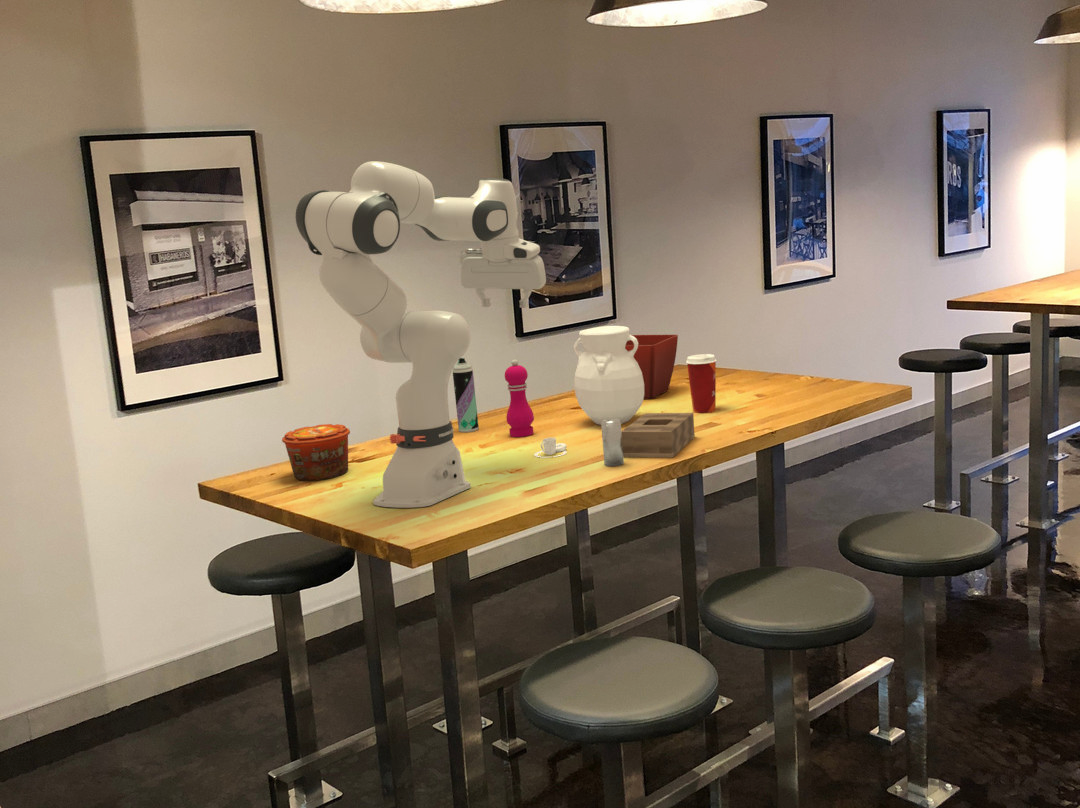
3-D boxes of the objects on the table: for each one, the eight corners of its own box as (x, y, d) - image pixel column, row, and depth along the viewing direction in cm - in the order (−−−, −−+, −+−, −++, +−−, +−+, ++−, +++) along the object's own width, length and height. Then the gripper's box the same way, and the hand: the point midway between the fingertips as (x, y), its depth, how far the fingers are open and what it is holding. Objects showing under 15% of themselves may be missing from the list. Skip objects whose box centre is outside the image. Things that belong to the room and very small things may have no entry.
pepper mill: (532, 437, 273) (525, 361, 269) (505, 438, 275) (497, 362, 271) (537, 430, 280) (531, 356, 276) (511, 432, 282) (504, 358, 278)
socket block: (672, 457, 239) (671, 432, 238) (622, 457, 244) (620, 431, 243) (694, 436, 257) (693, 412, 256) (647, 436, 262) (645, 413, 261)
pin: (620, 466, 236) (616, 423, 234) (601, 466, 237) (598, 423, 236) (626, 461, 240) (623, 418, 238) (608, 461, 241) (604, 418, 240)
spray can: (455, 432, 288) (447, 359, 284) (465, 427, 293) (458, 356, 289) (472, 432, 285) (464, 359, 282) (482, 428, 290) (475, 356, 286)
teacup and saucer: (562, 449, 259) (561, 432, 258) (575, 455, 252) (573, 438, 251) (529, 455, 256) (527, 438, 255) (541, 461, 249) (539, 444, 248)
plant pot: (657, 402, 304) (653, 344, 301) (598, 401, 314) (593, 344, 310) (682, 389, 320) (679, 334, 317) (625, 388, 330) (621, 335, 326)
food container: (274, 478, 254) (268, 435, 252) (328, 462, 265) (323, 421, 263) (313, 486, 243) (307, 441, 241) (368, 469, 255) (362, 426, 253)
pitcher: (569, 430, 277) (561, 336, 273) (587, 415, 295) (579, 326, 290) (639, 428, 272) (632, 332, 267) (652, 413, 289) (646, 322, 284)
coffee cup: (725, 410, 284) (722, 355, 281) (698, 415, 281) (695, 359, 278) (709, 406, 292) (706, 352, 289) (683, 410, 289) (679, 356, 286)
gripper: (453, 251, 244) (459, 309, 249) (537, 251, 238) (541, 310, 242) (464, 245, 250) (469, 302, 255) (546, 245, 244) (549, 304, 248)
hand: (505, 306), depth 248 cm, fingers open, 8 cm apart
